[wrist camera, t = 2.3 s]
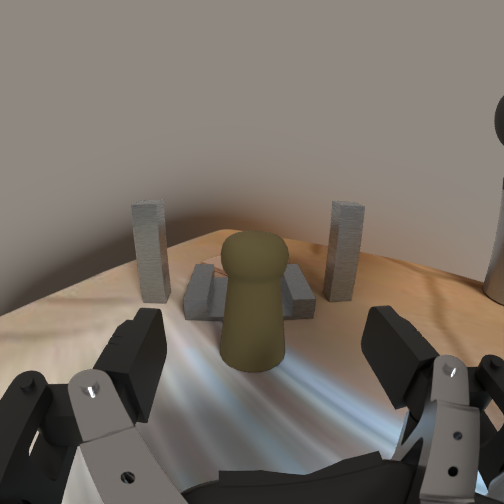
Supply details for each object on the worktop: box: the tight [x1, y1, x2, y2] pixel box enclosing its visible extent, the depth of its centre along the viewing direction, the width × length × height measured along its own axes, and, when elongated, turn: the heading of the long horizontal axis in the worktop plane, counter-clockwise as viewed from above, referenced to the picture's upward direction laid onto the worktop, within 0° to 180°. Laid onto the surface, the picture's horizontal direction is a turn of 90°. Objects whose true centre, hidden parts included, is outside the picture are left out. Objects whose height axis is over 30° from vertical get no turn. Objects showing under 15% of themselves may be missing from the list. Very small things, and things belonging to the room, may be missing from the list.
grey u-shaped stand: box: [131, 200, 365, 321], centre depth 32 cm, size 10×26×12 cm, turn 93°
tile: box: [201, 255, 289, 276], centre depth 44 cm, size 10×10×1 cm
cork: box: [220, 231, 289, 372], centre depth 22 cm, size 6×6×11 cm
